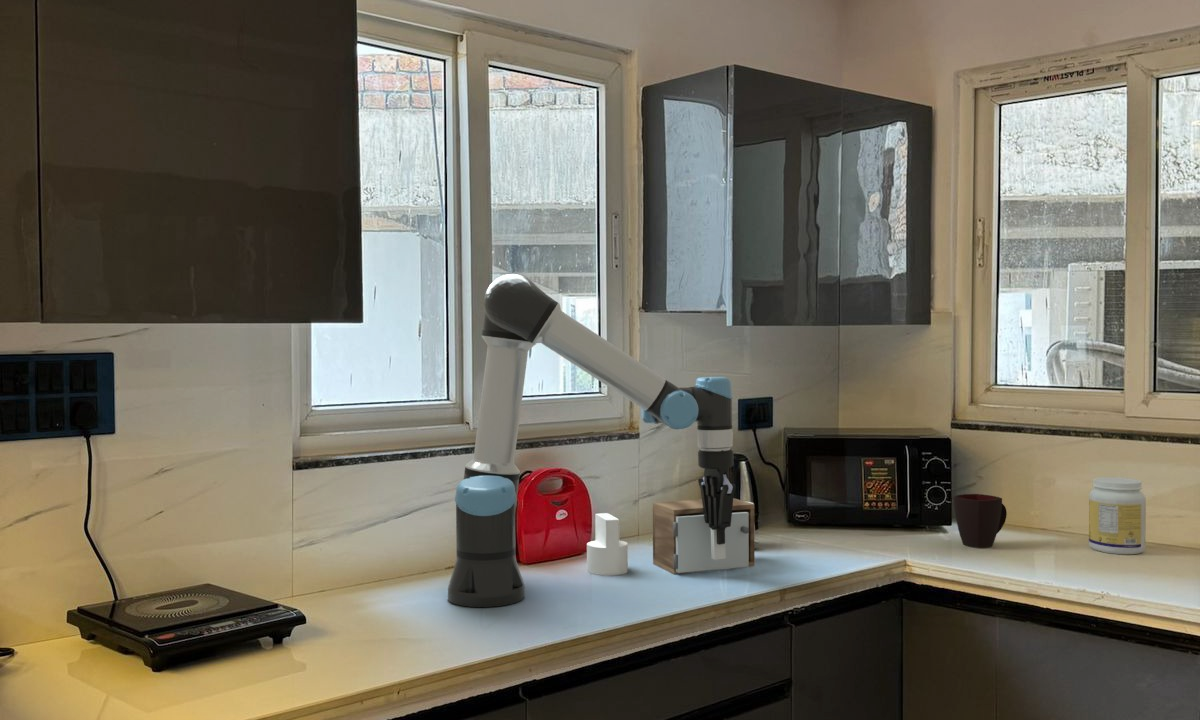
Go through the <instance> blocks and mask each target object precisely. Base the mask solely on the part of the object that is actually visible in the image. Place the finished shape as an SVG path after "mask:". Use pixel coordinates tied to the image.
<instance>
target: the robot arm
mask: <svg viewBox="0 0 1200 720" xmlns="http://www.w3.org/2000/svg"><path fill="white" fill-rule="evenodd" d="M483 298H484V299H483V304H484V305H483V307H484V315H483V321H482V322H483V324H482V332H481V339H482V340H483V341H484V342H485V344H486V345H487V350H486V357H485V365H484V371H483V372H484V373H483V381H482V387H481V388H482V390H481V396H480V403H479V413H478V418H477V419H478V420H477V427H476V435H475V436H476V438H475V445H474V451H473V452H474V453H473V458H472V459H471V460H470V461H469V462H467V463H466V464H465V466H464V475H463V479H462V480H461V481H460V482H459V483H458V484H457V485H456V490H455V494H454V495H455V496H454V501H455V510H456V511H455V515H456V517H455V521H456V526H455V527H456V530H455V533H456V534H455V536H456V537H455V538H456V541H455V543H456V544H455V545H456V561H455V564H454V566H453V570H452V573H451V576H450V580H449V583H448V587H447V601H448V602H450V603H452V604H454V605H457V606H461V607H471V608H472V607H473V608H474V607H475V608H492V607H500V606H501V607H503V606H506V605H507V606H508V605H512V604H515V603H518V602H520V601H523V599H525V596H526V595H525V592H526V591H525V589H526V588H525V582H524V580H523V577H522V574H521V571H520V568H519V564H518V562H517V558H516V509H517V506H518V505H517V504H518V500H517V499H518V493H519V483H520V475H521V470H520V469H519V468H518V467H517V465H516V464H515V459H516V458H515V456H516V450H517V443H518V441H517V440H518V435H519V426H520V419H521V418H520V417H521V410H522V401H523V394H524V385H525V377H526V370H527V365H528V364H527V361H528V354H529V351H530V349H532V348H533V347H534V346H536V345H537V344H542V345H543V346H545V347H546V348H547V349H550V350H551V351H553V352H554V353H556V354H558V355H559V356H560V357H562V358H563V359H565V360H566V361H568V362H570V363H571V364H573V365H574V366H576V367H577V368H579V369H581V370H582V371H583V372H585V373H586V374H588V375H590V376H591V377H593V378H594V379H596V381H597V380H598V381H599V382H601V383H602V384H604V385H606V386H607V387H608V388H610V389H612V390H613V391H615V392H616V393H617V394H619V395H620V396H622V397H624V398H625V399H626V400H628V401H630V402H631V403H632V404H634V405H636V406H637V407H638V408H640V414H641V420H642V421H643V423H644V424H655V425H658V424H665V425H666V426H667V427H669V428H671V429H673V430H684V429H687V428H689V427H691V426H692V425H693V424H694V423H695V422H696V423H697V427H696V428H697V429H696V431H697V432H696V433H697V434H696V436H697V447H698V448H699V450H698V451H697V463H698V467H699V468H701V469H703V471H704V472H703V477H702V478H701V477H699V478H698V479H697V482H698V485H699V488H700V489H699V490H700V495H701V497H700V498H701V499H702V504H703V511H704V519H705V523H708V524H709V527H710V528H711V559H714V560H717V559H726V551H725V528H727V527H730V526H731V517H732V507H733V498H734V495H735V491H736V489H737V487H736V484H735V483H730V474H729V468H732V467H733V466H734V451H733V449H731V448H732V447H734V446H733V445H734V442H733V441H734V440H733V437H734V435H735V434H734V431H733V396H732V395H733V394H732V386H731V385H732V383H731V380H730V379H729V378H728V377H726V376H705V377H702V376H701V377H698V378H696V379H695V386H688V387H678V386H676V385H675V384H673V383H672V382H670V381H668V380H667V379H666V378H665V377H664V376H661V375H660V374H658V373H657V372H655V371H654V370H652V369H651V368H650V367H647V366H646V365H645V364H643V363H642V362H640V361H639V360H637V359H635V358H634V357H633V356H631V355H630V354H628V353H626V352H625V351H624V350H621V349H620V348H619V347H618V346H615V345H614V344H613V343H611V342H609V341H608V340H606V339H605V338H603V337H602V336H601V335H599V334H597V333H596V332H594V331H593V330H592V329H590V328H588V327H586V326H585V325H583V324H582V323H580V322H579V321H578V320H576V319H575V318H573V317H571V316H570V315H568V314H566V313H565V312H564V311H562V309H561V304H560V303H559V302H558V301H556V300H555V299H554V298H552V297H550V295H548V294H547V293H546V292H544V291H543V290H542V289H541V288H540V287H538V286H537V285H536V284H535V283H534V282H533V281H532V280H531V279H529V278H528V277H526V276H524V275H521V274H517V273H508V274H504V275H500V276H499V277H497V278H496V279H495V280H494V281H492V282H491V283H490V284H489V286H488V287H487V289H486V291H485V294H484V297H483Z"/></svg>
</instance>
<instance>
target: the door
mask: <svg viewBox="0 0 1200 720" xmlns="http://www.w3.org/2000/svg"><path fill="white" fill-rule="evenodd" d="M673 536H675V537H676V554H673V568H674V569H676V572H677V573H682V574H684V573H683V572H693V573H696V572H695V571H703V572H707V571H706V570H713V571H719V570H718V569H723V570H730V569H729V568H733V569H741V568H740V567H743V568H750V567H749V513H748V512H737V513H732V517H731V526H730V527H727V528H725V551H726V559H717V560H714V559H711V528H710V527H709V524H708V523H705V519H704V515H693V516H678V517H676V522H673Z"/></svg>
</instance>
